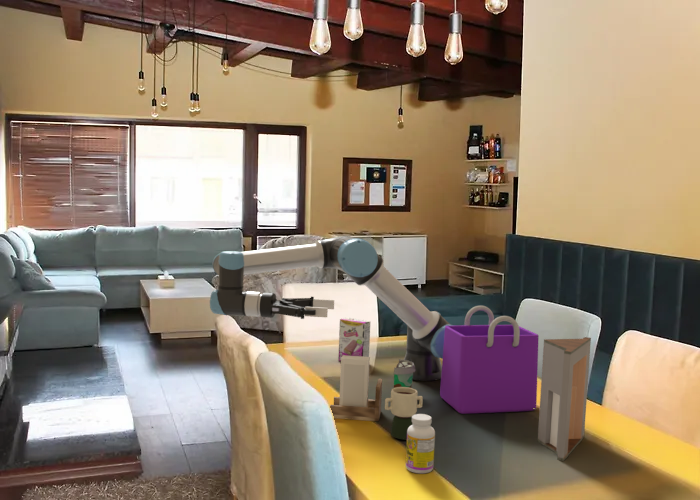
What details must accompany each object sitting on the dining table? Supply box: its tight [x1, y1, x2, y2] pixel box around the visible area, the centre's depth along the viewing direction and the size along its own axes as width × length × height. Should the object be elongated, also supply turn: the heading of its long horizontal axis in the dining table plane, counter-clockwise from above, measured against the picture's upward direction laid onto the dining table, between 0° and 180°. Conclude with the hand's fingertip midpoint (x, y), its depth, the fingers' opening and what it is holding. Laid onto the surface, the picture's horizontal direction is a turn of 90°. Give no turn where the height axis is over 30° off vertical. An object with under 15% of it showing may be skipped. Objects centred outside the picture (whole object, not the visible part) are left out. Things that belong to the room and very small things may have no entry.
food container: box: [393, 358, 415, 388], centre depth 227 cm, size 12×6×10 cm, turn 168°
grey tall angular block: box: [537, 336, 592, 462], centre depth 186 cm, size 21×10×28 cm, turn 148°
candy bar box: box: [337, 317, 371, 362], centre depth 265 cm, size 11×5×16 cm, turn 58°
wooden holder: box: [329, 378, 383, 422], centre depth 205 cm, size 14×9×10 cm, turn 83°
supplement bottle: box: [405, 413, 436, 475], centre depth 167 cm, size 7×7×13 cm
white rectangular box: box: [339, 355, 371, 407], centre depth 205 cm, size 8×4×16 cm, turn 83°
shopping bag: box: [439, 305, 539, 415], centre depth 218 cm, size 28×22×30 cm
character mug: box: [384, 387, 424, 441], centre depth 187 cm, size 11×7×13 cm, turn 108°
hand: (330, 308), depth 210 cm, fingers open, 13 cm apart
